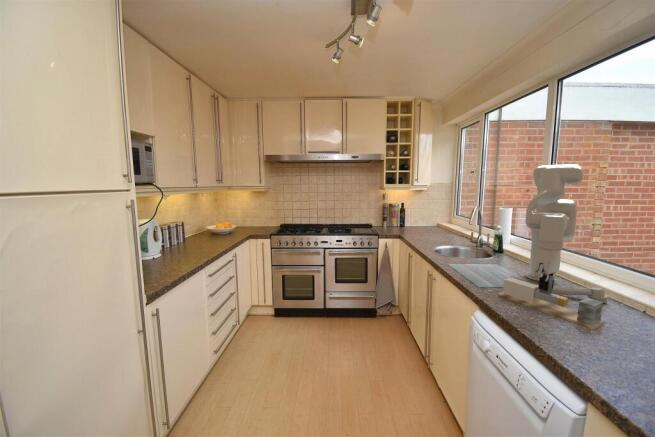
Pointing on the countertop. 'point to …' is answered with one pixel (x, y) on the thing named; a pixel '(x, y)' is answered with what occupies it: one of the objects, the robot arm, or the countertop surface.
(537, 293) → the grey l-shaped piece
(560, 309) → the stand
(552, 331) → the countertop surface
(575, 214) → the robot arm
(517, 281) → the sleeve
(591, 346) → the countertop surface
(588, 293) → the electric toothbrush handle
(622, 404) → the countertop surface
